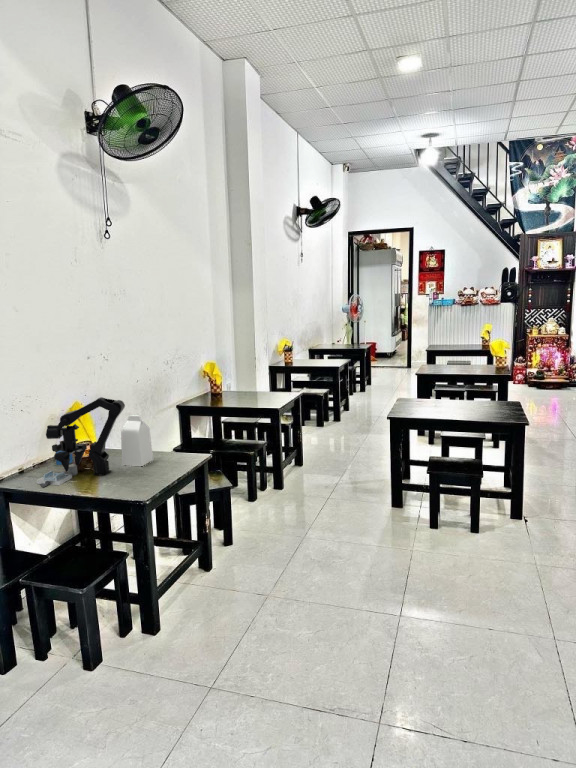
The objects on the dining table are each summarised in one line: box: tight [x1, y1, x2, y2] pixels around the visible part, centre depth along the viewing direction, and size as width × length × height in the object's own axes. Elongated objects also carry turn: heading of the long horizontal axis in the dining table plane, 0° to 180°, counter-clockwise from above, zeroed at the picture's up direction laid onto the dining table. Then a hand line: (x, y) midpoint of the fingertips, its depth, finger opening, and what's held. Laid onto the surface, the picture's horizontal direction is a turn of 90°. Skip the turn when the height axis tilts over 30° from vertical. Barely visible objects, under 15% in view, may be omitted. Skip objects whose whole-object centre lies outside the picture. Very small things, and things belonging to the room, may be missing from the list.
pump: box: [67, 463, 78, 477], centre depth 267 cm, size 4×4×5 cm
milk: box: [120, 414, 154, 467], centre depth 281 cm, size 12×12×26 cm
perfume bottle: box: [55, 440, 73, 466], centre depth 285 cm, size 6×6×12 cm
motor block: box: [36, 470, 73, 489], centre depth 256 cm, size 12×14×4 cm
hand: (72, 468), depth 267 cm, fingers open, 9 cm apart
